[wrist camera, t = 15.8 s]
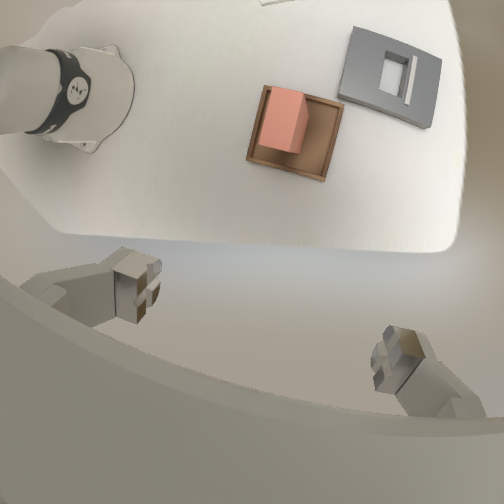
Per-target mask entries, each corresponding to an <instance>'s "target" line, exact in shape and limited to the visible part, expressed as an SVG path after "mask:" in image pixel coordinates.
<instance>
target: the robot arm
mask: <svg viewBox="0 0 504 504" xmlns="http://www.w3.org/2000/svg"><path fill="white" fill-rule="evenodd" d="M133 93H134V81H133V76H132V72H131V70H130V68H129V67H128V65H127V64H126V63H125V62H124V61H123V60H122V59H121V58H120V54H119V51H118V48H117V47H116V46H113V45H109V46H106V47H103V48H100V49H92V48H88V47H82V46H81V47H78V48H77V49H74V50H72V51H70V52H66V51H63V50H57V49H56V50H53V49H48V50H45V51H43V50H37V49H31V48H25V47H19V46H6V47H3V48H1V49H0V135H2V134H9V133H16V132H25V133H27V134H34V135H43V134H44V135H43V140H45V141H52V142H54V143H68V144H70V145H72V146H74V147H76V148H78V149H81V150H83V151H85V152H87V153H93V152H94V151H95V150H96V149H97V147H98V146H99V144H100V143H101V141H102V140H103V139H104V138H106V137H107V136H109V135H110V134H112V133H113V132H114V131H115V130H116V129H117V128H118V127H119V126H120V124H121V123H122V122H123V120H124V119H125V117H126V115H127V113H128V111H129V108H130V106H131V103H132V99H133ZM161 267H162V262H161V260H160V259H158V258H155V257H152V256H149V255H146V254H143V253H141V252H138V251H135V250H133V249H129V248H126V247H121V248H120V249H118V250H117V251H116V252H114V253H113V254H111V255H110V256H109V257H107V258H106V259H105V260H103V261H102V262H101V263H99V264H95V263H93V264H87V265H82V266H77V267H71V268H65V269H60V270H54V271H49V272H43V273H39V274H36V275H35V276H33V277H32V278H30V279H29V280H28V281H26V282H25V283H24V284H22V285H21V286H19V287H17V286H16V285H14V284H13V283H11V282H9V281H8V280H6V279H5V278H3V277H2V276H0V504H504V417H496V418H487V416H486V413H485V411H484V408H483V406H482V403H481V401H480V399H479V397H478V396H477V395H476V394H474V392H473V391H472V390H470V389H469V388H468V387H467V386H466V385H465V384H464V383H463V382H462V381H461V380H460V379H459V378H458V377H457V376H456V375H455V374H454V373H453V372H452V371H451V370H449V369H448V368H447V367H446V366H445V365H444V364H443V363H442V362H441V361H438V360H437V358H436V356H435V353H434V351H433V349H432V346H431V344H430V342H429V340H428V338H427V335H426V334H425V333H424V332H419V331H414V330H409V329H404V328H399V327H395V326H388V327H387V328H386V330H385V331H384V333H383V341H381V342H379V343H377V345H376V346H375V348H374V350H373V353H372V356H371V368H372V370H373V371H374V372H375V373H376V374H375V375H374V377H373V380H374V386H375V391H377V392H383V393H388V394H394V395H395V396H396V398H397V399H398V401H399V402H400V404H401V405H402V407H403V408H404V410H405V411H406V413H407V414H408V416H400V415H390V414H381V413H372V412H364V411H358V410H351V409H344V408H339V407H332V406H327V405H322V404H316V403H312V402H307V401H302V400H297V399H293V398H288V397H284V396H280V395H275V394H272V393H267V392H263V391H260V390H256V389H252V388H249V387H245V386H241V385H238V384H235V383H231V382H228V381H225V380H221V379H218V378H215V377H212V376H209V375H206V374H203V373H200V372H197V371H194V370H191V369H188V368H186V367H182V366H180V365H177V364H175V363H172V362H169V361H167V360H164V359H161V358H159V357H156V356H154V355H151V354H148V353H146V352H144V351H141V350H139V349H137V348H134V347H132V346H130V345H127V344H125V343H123V342H120V341H118V340H116V339H114V338H112V337H109V336H107V335H105V334H103V333H101V332H99V331H97V330H95V329H93V328H92V327H94V326H96V325H98V324H101V323H103V322H106V321H108V320H111V319H113V318H115V316H116V317H119V318H121V319H124V320H126V321H129V322H131V323H134V324H138V323H139V321H140V320H141V319H142V318H143V316H144V315H145V314H146V308H148V307H151V306H152V305H153V304H154V303H155V301H156V299H157V297H158V294H159V290H160V280H159V279H158V276H157V275H158V274H159V273H160V272H161Z"/></svg>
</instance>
